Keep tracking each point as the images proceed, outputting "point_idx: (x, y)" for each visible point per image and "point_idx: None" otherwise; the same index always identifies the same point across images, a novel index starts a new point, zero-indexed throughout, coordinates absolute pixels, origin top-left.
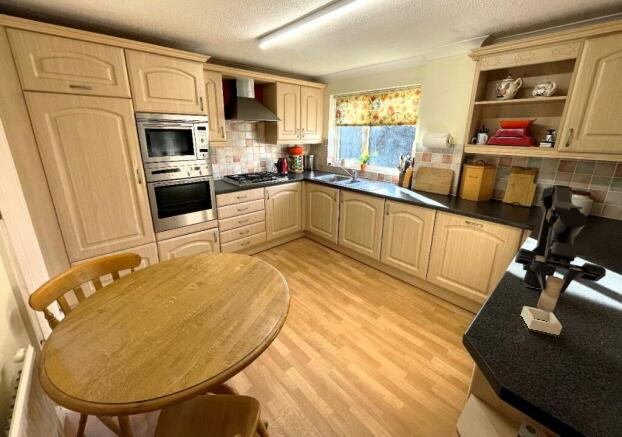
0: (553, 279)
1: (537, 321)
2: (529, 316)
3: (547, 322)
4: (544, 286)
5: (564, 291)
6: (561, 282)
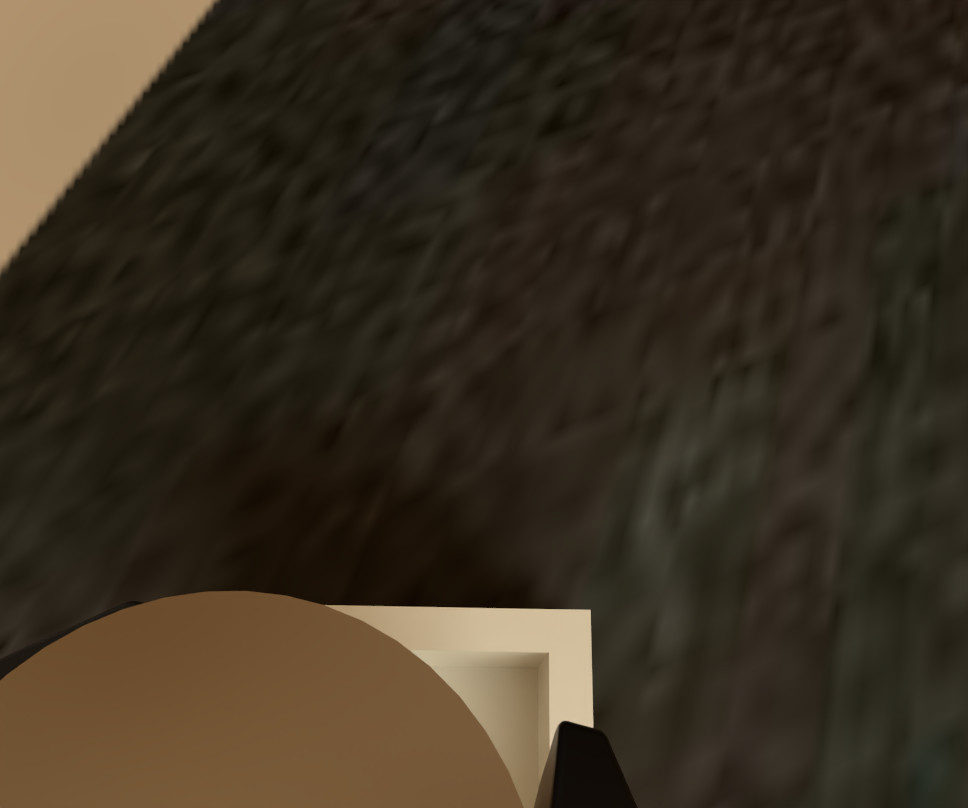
0: (356, 800)
1: (519, 612)
2: (591, 714)
3: (393, 625)
4: (581, 757)
5: (82, 623)
6: (116, 622)
